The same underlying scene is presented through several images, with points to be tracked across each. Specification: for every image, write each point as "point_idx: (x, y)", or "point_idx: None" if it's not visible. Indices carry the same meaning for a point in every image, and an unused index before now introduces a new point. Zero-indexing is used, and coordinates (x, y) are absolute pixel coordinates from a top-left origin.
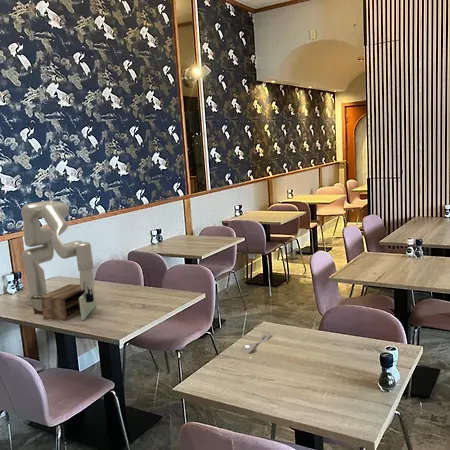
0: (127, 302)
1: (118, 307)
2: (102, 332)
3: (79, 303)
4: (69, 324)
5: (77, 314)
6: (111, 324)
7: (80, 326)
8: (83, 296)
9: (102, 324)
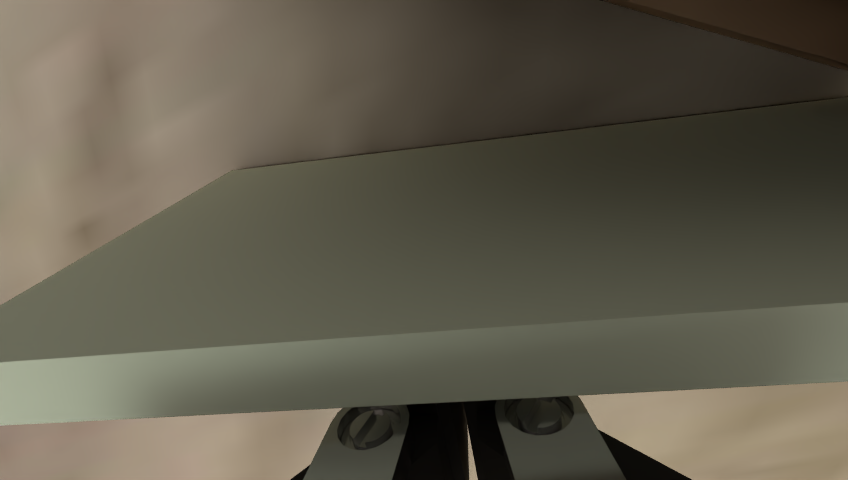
0: (830, 465)
1: (671, 423)
2: (20, 458)
3: (37, 285)
4: (95, 44)
5: None
6: (190, 475)
7: (77, 227)
8: (158, 405)
9: None
